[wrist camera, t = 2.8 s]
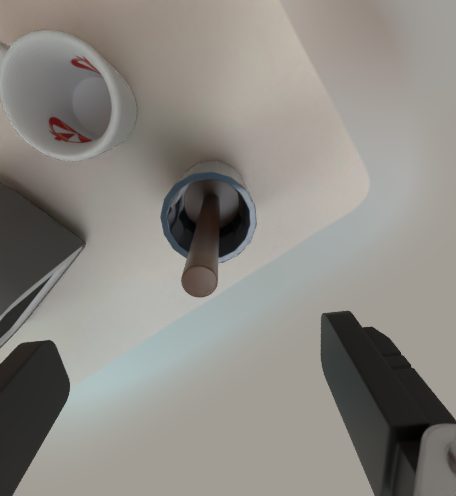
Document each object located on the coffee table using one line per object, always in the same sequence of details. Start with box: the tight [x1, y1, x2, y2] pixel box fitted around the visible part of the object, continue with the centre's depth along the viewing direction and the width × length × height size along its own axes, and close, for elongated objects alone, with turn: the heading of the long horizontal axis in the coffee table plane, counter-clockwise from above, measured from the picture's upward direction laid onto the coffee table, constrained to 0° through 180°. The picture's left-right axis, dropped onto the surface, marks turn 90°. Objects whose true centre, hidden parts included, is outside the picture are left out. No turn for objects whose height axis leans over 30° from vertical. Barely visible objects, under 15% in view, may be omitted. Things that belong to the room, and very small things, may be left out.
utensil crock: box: [161, 161, 257, 263], centre depth 26 cm, size 7×7×9 cm
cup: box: [0, 30, 137, 161], centre depth 23 cm, size 11×8×8 cm
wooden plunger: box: [181, 179, 240, 297], centre depth 21 cm, size 5×5×18 cm
